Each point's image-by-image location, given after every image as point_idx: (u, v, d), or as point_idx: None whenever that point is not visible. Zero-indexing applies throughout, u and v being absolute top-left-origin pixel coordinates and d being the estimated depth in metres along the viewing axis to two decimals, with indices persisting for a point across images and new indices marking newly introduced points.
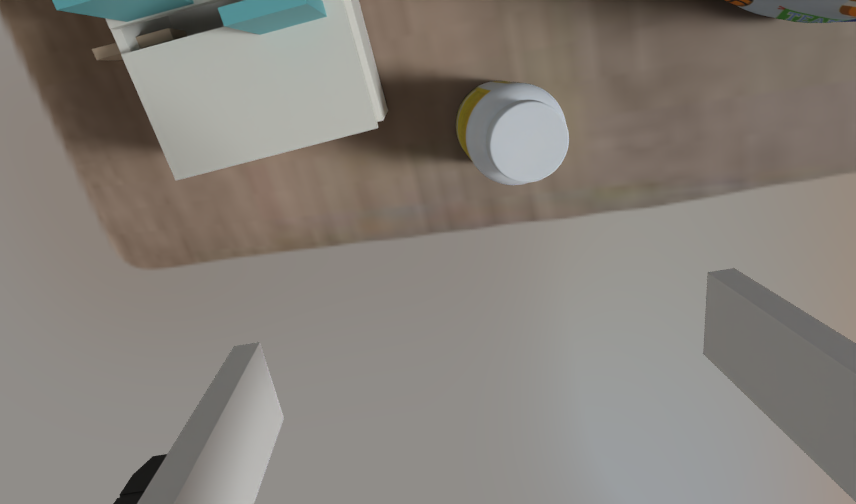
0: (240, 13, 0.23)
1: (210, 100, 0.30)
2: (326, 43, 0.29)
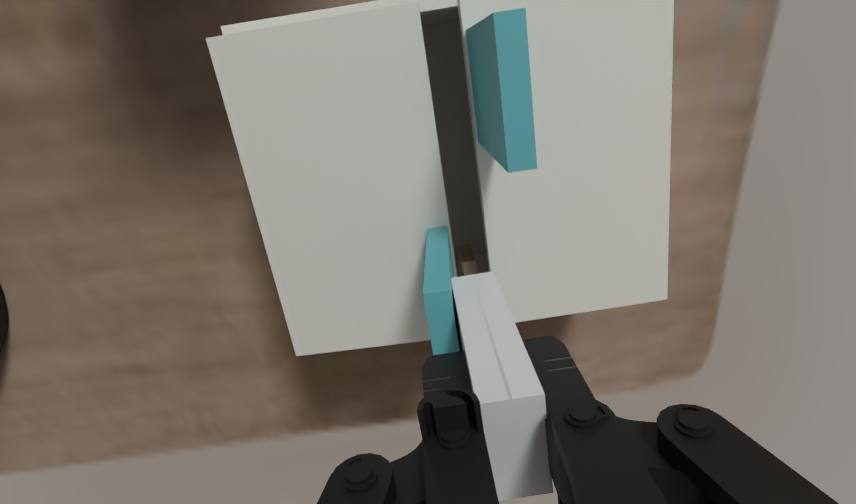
0: (522, 136, 0.13)
1: (573, 228, 0.21)
2: None
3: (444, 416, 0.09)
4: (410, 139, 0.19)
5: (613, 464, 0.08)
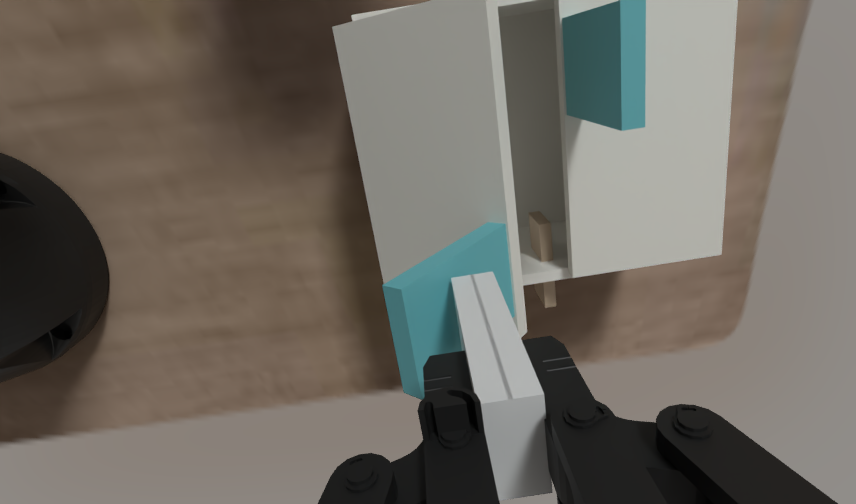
0: (635, 100, 0.16)
1: (643, 191, 0.24)
2: None
3: (445, 416, 0.09)
4: (475, 130, 0.18)
5: (612, 464, 0.08)
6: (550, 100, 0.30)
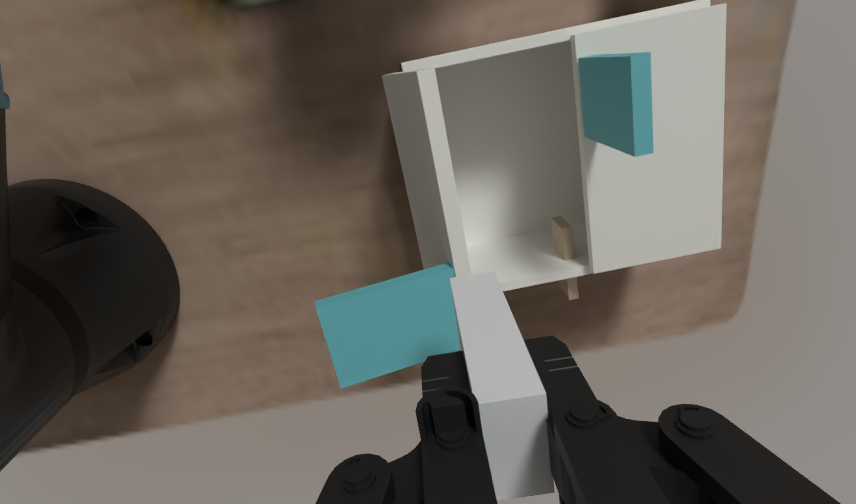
0: (645, 132, 0.20)
1: (652, 197, 0.28)
2: None
3: (443, 416, 0.09)
4: (432, 184, 0.21)
5: (615, 464, 0.08)
6: (565, 117, 0.34)
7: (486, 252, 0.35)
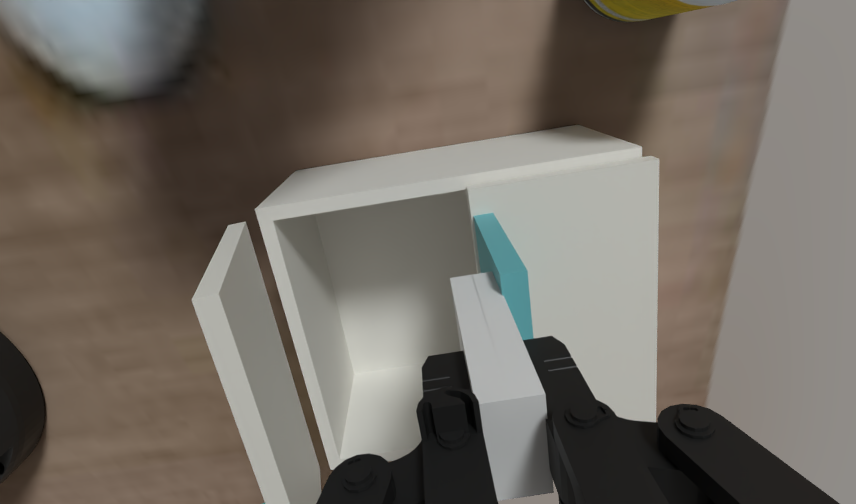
0: None
1: None
2: (527, 218, 0.20)
3: (443, 416, 0.09)
4: None
5: (614, 464, 0.08)
6: None
7: (394, 388, 0.30)
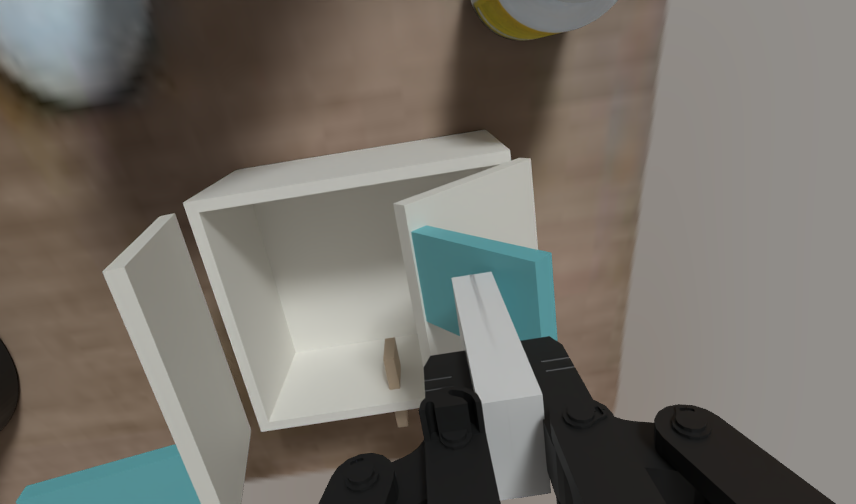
0: None
1: None
2: (452, 225, 0.21)
3: (446, 416, 0.09)
4: None
5: (611, 464, 0.08)
6: None
7: (327, 364, 0.34)
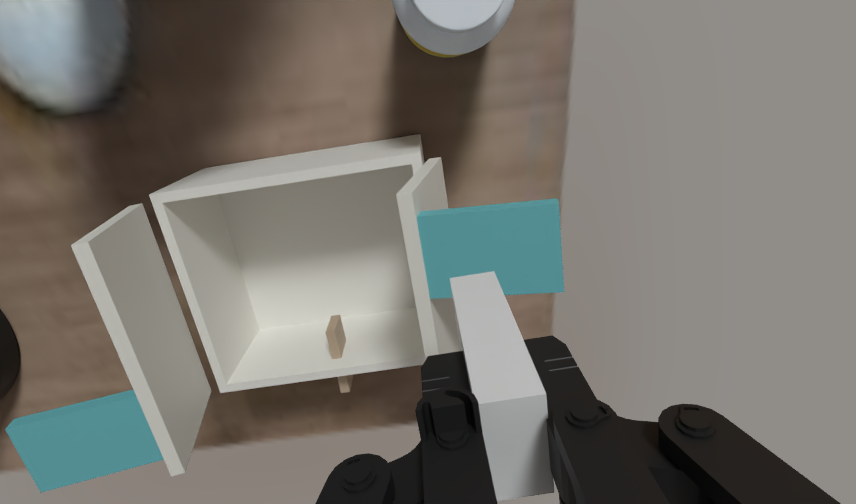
0: None
1: (452, 335, 0.28)
2: None
3: (442, 416, 0.09)
4: None
5: (615, 464, 0.08)
6: (358, 221, 0.37)
7: (284, 339, 0.38)
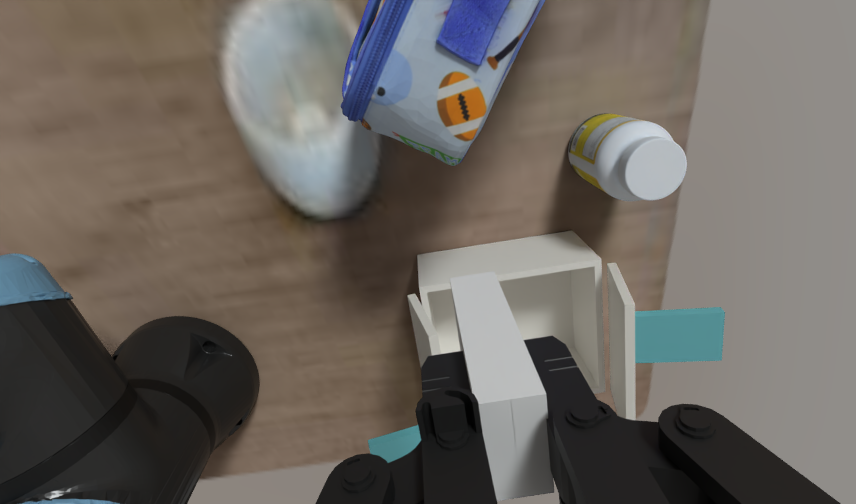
0: None
1: None
2: None
3: (442, 416, 0.09)
4: None
5: (615, 464, 0.08)
6: (523, 290, 0.52)
7: None
